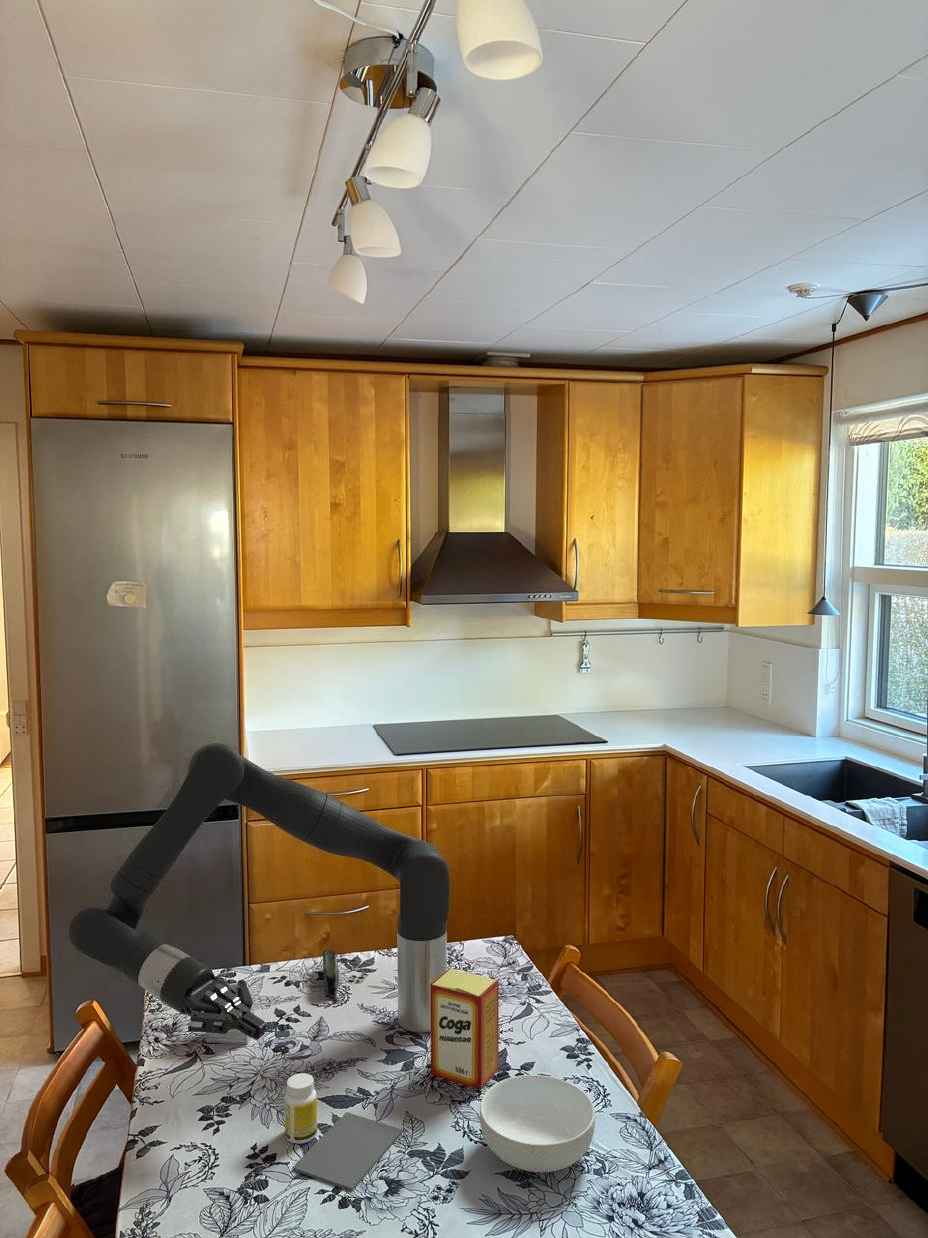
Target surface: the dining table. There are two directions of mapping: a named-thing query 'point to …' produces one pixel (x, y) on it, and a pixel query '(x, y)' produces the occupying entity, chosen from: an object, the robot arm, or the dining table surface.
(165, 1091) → the dining table surface
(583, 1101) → the cereal bowl
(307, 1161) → the mat
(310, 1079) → the supplement bottle
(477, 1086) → the baking soda box
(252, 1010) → the medicine box
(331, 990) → the dark green elongated piece
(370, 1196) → the dining table surface
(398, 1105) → the dining table surface
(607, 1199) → the dining table surface
